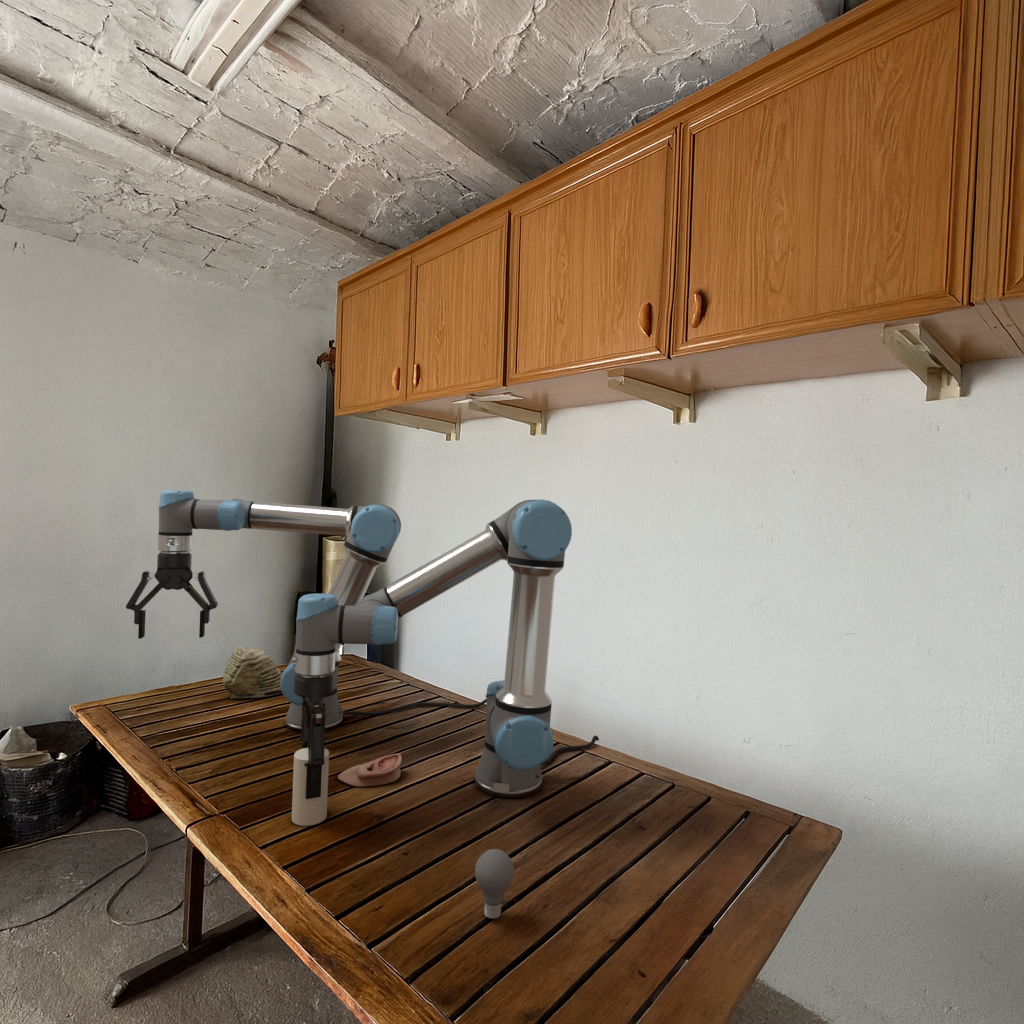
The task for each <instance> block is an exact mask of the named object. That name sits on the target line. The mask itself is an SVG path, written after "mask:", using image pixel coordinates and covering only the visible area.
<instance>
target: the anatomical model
mask: <svg viewBox="0 0 1024 1024" xmlns="http://www.w3.org/2000/svg"><path fill="white" fill-rule="evenodd" d="M402 761H403V757H402V754H400V753H393V754H389V755H385V756H382V757H378V758H376V759H373V760H371V761H368V762H364V763H362V764H358V765H354V766H352V767H349V768H347V769H346V770H344V771H342V772H340V773H339V774H338V776H337V779H338V780H339V781H341V782H343V783H345V784H346V785H349V786H350V785H351V786H353V787H372V786H380V785H385V784H390V783H393V782H395V781H397V780H398V779H399V778H400V776H401V775H402V773H401V772H402V771H401V768H400V767H401V765H402Z"/></svg>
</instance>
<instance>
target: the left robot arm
mask: <svg viewBox="0 0 1024 1024" xmlns="http://www.w3.org/2000/svg"><path fill="white" fill-rule="evenodd" d="M242 529H247V530H250V529H252V530H262V531H263V530H264V531H274V532H275V531H276V532H289V533H302V534H315V535H327V536H341V537H346V539H345V541H344V544H343V549H344V552H345V555H344V558H343V560H342V562H341V564H340V566H339V568H338V571H337V573H336V575H335V577H334V580H333V581H332V584H331V586H330V588H329V590H328V593H327V594H332V595H335V596H336V597H337V602H338V605H344V606H357V605H358V603H359V602H360V601H361V599H362V598H364V597H365V596H366V595H365V594H366V592H367V590H368V588H369V585H370V584H371V581H372V579H373V578H374V575H375V573H376V570H377V568H379V566H383V565H385V564H386V563H387V561H388V558H389V556H390V554H391V552H392V550H393V548H394V545H395V543H396V542H397V540H398V538H399V535H400V533H401V531H402V521H401V519H400V516H399V514H398V513H397V512H396V511H395V509H393V508H392V507H390V506H388V505H385V504H369V505H352V506H350V507H348V508H342V507H328V506H317V505H304V504H291V503H290V504H289V503H279V502H268V501H251V500H243V499H239V498H238V499H237V498H236V499H234V498H233V499H199V498H195V495H194V492H193V491H191V490H173V489H172V490H171V489H165V490H163V491H161V492H160V495H159V505H158V534H157V551H159V553H158V554H157V562H156V571H150V570H145V571H143V572H142V573H141V577H140V582H139V583H138V585H137V587H136V588H135V589H134V592H133V594H132V595H131V597H130V598H129V600H128V602H127V603H126V605H125V608H126V609H127V610H130V611H133V613H134V614H133V615H134V617H133V623H134V625H138V629H137V630H138V632H137V634H138V635H137V638H138V639H139V640H140V639H143V638H145V636H146V612H147V611H146V609H144V608H145V607H146V606H147V604H148V603H149V602H150V601H151V600H153V598H154V597H155V596H156V595H157V594H158V593H159V592H160V591H161V590H162V589H164V590H166V591H169V590H170V591H171V590H175V591H180V590H183V589H184V591H185V592H187V594H188V595H189V596H190V597H191V598H192V599H193V600H194V601H195V602H196V604H197V605H198V606H199V607H200V608H201V610H200V611H199V631H198V632H199V634H198V635H199V636H198V638H199V639H200V638H202V639H203V638H204V636H205V633H206V629H205V628H206V624H209V623H210V617H211V616H210V615H211V610H215V609H216V608H218V606H219V603H218V601H217V600H216V597H215V595H214V594H213V592H212V589H211V588H210V585H209V584H208V582H207V579H206V572H205V571H204V570H201V571H199V572H193V571H192V557H193V555H192V553H191V551H192V550H193V530H211V531H212V530H213V531H224V532H228V531H229V532H230V531H240V530H242ZM153 578H154V579H155V580H156V581H157V582H158V583H157V584H156V585H155V586H154V588H153V589H152V590H151V591H149V593H148V594H147V595H146V596H144V598H143V599H142V600H141V601H140V602H139V603H138V604H137V602H138V600H139V598H140V596H141V595H142V593H143V592H144V591H145V588H146V586H147V585H148V583H149V582H150V581H152V580H153ZM193 578H194V579H195V581H197V582H198V584H199V586H200V588H201V590H202V592H203V593H204V595H205V598H206V599H207V601H208V602H207V601H206V600H205V598H204V597H203V596H202V595H201V594H200V593H199V592H198V591H197V590H196V589H195V587H194V586H193V585H192V584H191V580H192V579H193ZM342 645H343V644H336V645H335V651H336V655H335V670H334V671H333V672H332V673H333V674H334V691H333V692H332V693H331V694H330V695H327V696H324V697H323V698H322V700H323V703H325V713H326V718H325V731H329V730H332V729H335V728H337V727H339V726H340V725H342V723H343V722H344V715H345V716H367V717H368V716H380V715H386V714H389V713H392V712H393V713H394V712H397V711H402V710H405V709H409V708H414V707H423V706H436V707H452V708H453V707H454V708H465V709H474V708H480V707H481V706H484V705H486V700H487V698H485V699H484V700H482V701H481V702H478V703H474V704H465V703H453V702H437V701H436V702H432V701H422V702H414V703H413V702H412V703H409V704H404V705H400V706H397V707H392V708H388V709H383V710H379V711H355V710H351V711H349V710H347V711H346V710H343V709H342V706H341V702H340V699H339V695H338V682H339V681H338V680H339V678H338V677H339V666H340V663H341V661H342V656H341V654H340V649H341V647H342ZM295 657H297V656H296V645H295V648H294V652H293V654H292V656H291V658H290V660H289V662H288V664H287V666H286V667H285V668H284V669H283V671H282V672H281V673H282V675H281V680H280V688H281V691H282V693H281V694H282V695H283V697H284V698H285V699H286V700H287V701H288V702H289V703H290V704H289V708H288V711H287V713H286V715H285V726H286V728H287V729H289V730H291V731H294V732H295V731H296V732H301V722H302V697H300V696H297V695H296V694H295V693H294V678H295V675H296V674H297V673H296V672H295V663H294V662H292V659H293V658H295Z"/></svg>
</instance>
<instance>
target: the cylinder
mask: <svg viewBox="0 0 1024 1024" xmlns="http://www.w3.org/2000/svg"><path fill="white" fill-rule="evenodd" d="M324 760H325V763H324V765H322V775H321V797H317V798H311V799H306V772H307V767H304V763H308V747H307V748H300V749H298V750H296V751H295V752H294V754H293V767H292V768H293V775H292V798H291V799H292V801H291V821H292V823H293V824H295V825H298V826H302V827H308V826H309V827H311V826H314V825H315V826H316V825H318V824H320V823H322V822H324V821H325V820H326V819H327V816H328V797H329V796H328V795H329V794H328V792H329V766H330V751H329V749H327V748H325V747H324Z"/></svg>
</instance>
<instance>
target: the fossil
mask: <svg viewBox="0 0 1024 1024" xmlns="http://www.w3.org/2000/svg"><path fill="white" fill-rule="evenodd" d="M282 673H283V672H281V669H279V668H278V667H277V665H276V663H275V662H274V660H273V659H272V658H271V657H270V656H269V655H268V654H267V653H266V652H265V650H264V649H263V648H260V647H258V648H251V647H247V646H246V647H245V646H238V647H237V648H236V649H235V650H233V651H232V653H231V656H230V657H229V659H228V660H227V663H226V666H225V668H224V671H223V675H222V676H223V677H222V685H223V687H224V688H225V690H226V691H228V693H229V698H230V699H250V698H264V697H271V696H275V695H281V694H283V693H282V691H281V688H280V680H281V675H282Z"/></svg>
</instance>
